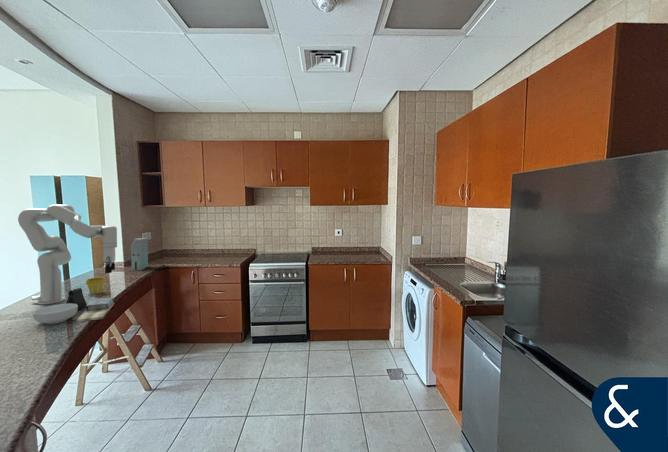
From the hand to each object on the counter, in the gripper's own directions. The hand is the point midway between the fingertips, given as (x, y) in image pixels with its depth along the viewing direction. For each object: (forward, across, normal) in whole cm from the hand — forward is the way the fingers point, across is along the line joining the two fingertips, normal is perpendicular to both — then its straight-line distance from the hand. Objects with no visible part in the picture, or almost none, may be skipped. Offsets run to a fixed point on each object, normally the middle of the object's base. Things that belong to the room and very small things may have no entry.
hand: (110, 271), depth 183 cm
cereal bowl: (+20, +29, -18) cm, 39 cm away
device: (+20, -107, +4) cm, 109 cm away
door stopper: (+20, +10, -15) cm, 27 cm away
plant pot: (+20, -26, -13) cm, 35 cm away
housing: (+18, +15, -2) cm, 24 cm away
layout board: (+20, +22, -2) cm, 29 cm away
